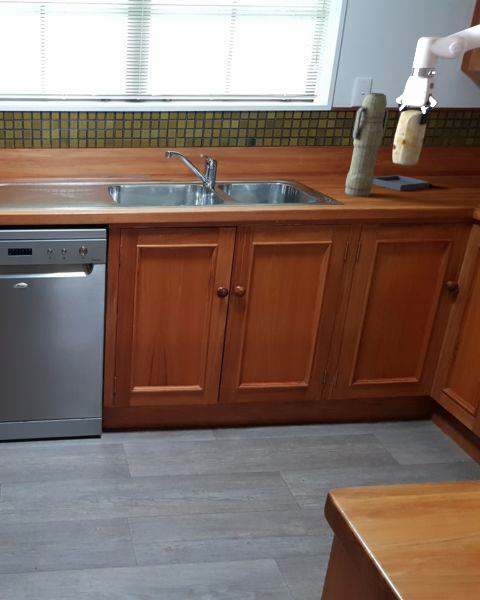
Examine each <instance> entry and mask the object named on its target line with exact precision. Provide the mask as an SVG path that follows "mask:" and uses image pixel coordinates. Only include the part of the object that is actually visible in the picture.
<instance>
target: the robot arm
mask: <svg viewBox="0 0 480 600" xmlns="http://www.w3.org/2000/svg"><path fill="white" fill-rule="evenodd" d="M478 48H480V24H477V25H475V26H471V27H469V28H466V29H463V30H461V31H458V32H455V33H453V34H449V35H447V36H445V37H440V36H422V37H420V38H419V39H418V41H417V44H416V49H415V54H414V59H413V64H412V69H411V73H410V76H409V77H408V79H407V81H406V83H405V87H404V90H403V94H402V95H400V96H399V97H397V98H396V103H397V107H398V111H399V116H398V120H399V119H400V116H401V113H402V112H404V111H407V110H409V108H410V107H420V110H421V112H423V113H421V115H420V119H419V125H425V124H426V125H427V122H428V118H429V114H431V112H433V110H435V108H436V107H437V106H438V104H439V101H438V100H437V99H436V98H435V93H436V84H437V83H436V81H437V79H436V78H435V76H436V75H437V74H438V70H436V68H437V64H438V59H442V60H455V59H459V58H460V57H462V56H463V55H464V54H465V53H466V52H468V51H471V50H474V49H478Z"/></svg>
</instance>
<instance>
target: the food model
mask: <svg viewBox="0 0 480 600" xmlns="http://www.w3.org/2000/svg"><path fill="white" fill-rule="evenodd" d="M421 113H423V112H422V110H421V111H420V110H415V109H407V110H406V111H404V112H402V113H401V116H400V115H399V116H400V119H399V118H398V123H397V126H396V131H395V134H394V139H393V146H392V163H394V164H397V165H401V166H404V167H407V166H412V165H413V166H414V165H417V164H418V163H419V159H420V158H419V157H420V154H421V151H422V147H423V143H424V138H425V135H426V129H427V123H426V124H425V125H419V119H420V115H421Z"/></svg>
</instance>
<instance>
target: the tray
mask: <svg viewBox="0 0 480 600" xmlns="http://www.w3.org/2000/svg"><path fill="white" fill-rule="evenodd" d="M430 184H431V183H430V181H427V180H421V179H418V178H413V177H408V176H405V175H404V176H403V175H399V174H396V175H394V174H393V175H386V176H374V180H373V185H372V186H377V187H380V188H385V187H386V188H385V189H389V188H390V189H389V190H393V189H394V190H393V191H397V190H398V192H404V191H403V190H406V191H412V190H411V189H415V190H422V189H421V188H424V189H429V188H430Z"/></svg>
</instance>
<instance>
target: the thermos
mask: <svg viewBox="0 0 480 600" xmlns="http://www.w3.org/2000/svg"><path fill="white" fill-rule="evenodd" d="M387 104H388V101H387V95H386V94H385V93H380V92H369V93H367V94H366V95H365V97H364V98H363V101H362V105H361V107H359V108H358V110H356V115H355V121H354V126H353V131H352V139H353V143H352V144H353V151H352V156H351V162H350V168H349V171H348V173H347V175H346V179H345V184H344V185H345V188H344V194H345V195H347V196H352V197H361V198H363V197H366V198H367V197H370V196H371V191H372V189H373V186H374V185H373V180H374V177H375V175H374V171H375V167H376V162H377V157H378V152H379V148H380V146H381V145H382V139H383V138H384V137H385V135H386V129H387V124H388V119H389V115H390V114H389V113H390V112H389V108H387Z"/></svg>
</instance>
